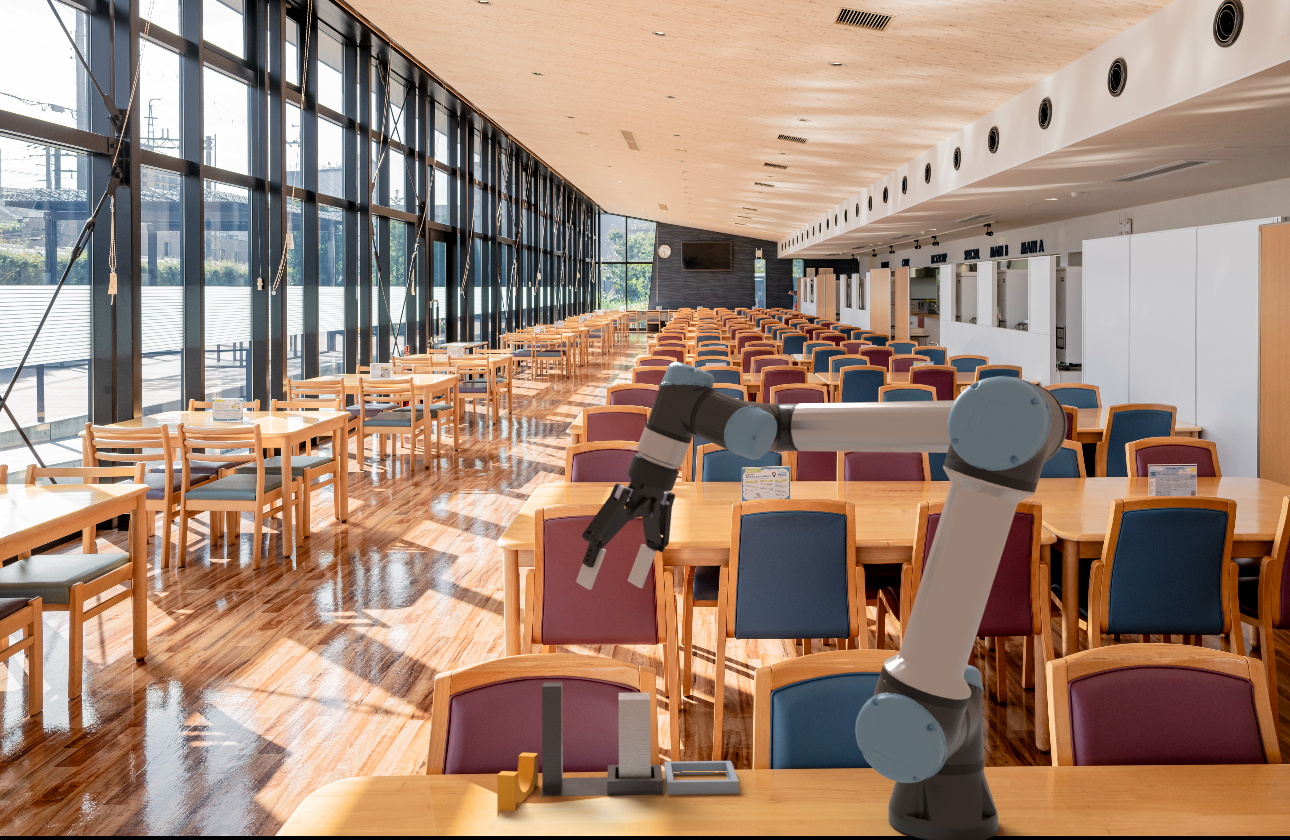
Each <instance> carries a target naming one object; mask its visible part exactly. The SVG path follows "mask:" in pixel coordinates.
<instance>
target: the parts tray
mask: <svg viewBox="0 0 1290 840" xmlns="http://www.w3.org/2000/svg"><path fill="white" fill-rule="evenodd" d="M733 770H735V767H734V765H733V763H732V760H702V761H701V760H699V761H698V760H692V761H691V760H689V761H688V760H687V761H664V778H665V779H664V780H665V786H666V791H667V795H669V796H670V795H723V794H725V795H727V794H728V795H730V794H736V795H738V794H740V785H739V784H740V783H739V782H740V781H739V777H738V776H737V774H736V771H733ZM682 771H727V772H718V773H726V774H725V776H726V779H677V780H676V779H674V775H675V776H676V775H677V776H681V775H682V776H684V775H686V776H688V775H713V774H712V773H716V772H682ZM673 772H680V773H673Z"/></svg>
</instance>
